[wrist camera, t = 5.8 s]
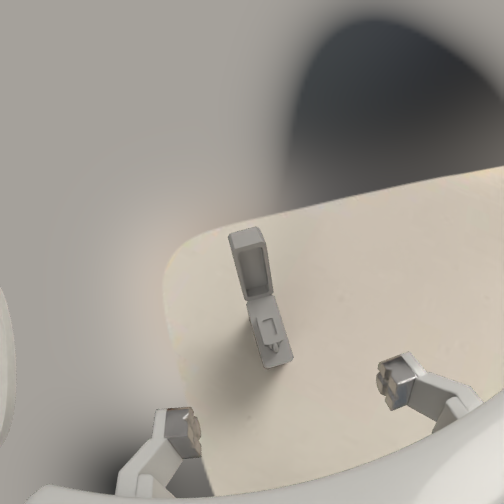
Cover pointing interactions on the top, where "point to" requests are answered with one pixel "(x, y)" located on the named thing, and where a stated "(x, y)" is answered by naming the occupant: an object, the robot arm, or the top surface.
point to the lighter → (260, 296)
